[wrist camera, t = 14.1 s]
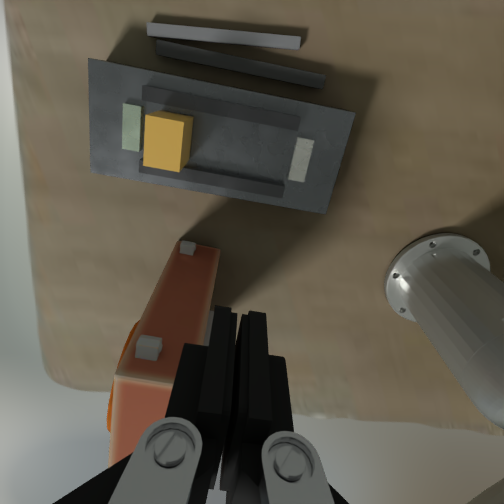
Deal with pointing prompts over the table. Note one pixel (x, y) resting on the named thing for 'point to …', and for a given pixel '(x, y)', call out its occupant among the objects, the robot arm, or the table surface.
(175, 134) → the yellow block
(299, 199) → the slider track
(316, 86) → the dark grey long bar
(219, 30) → the grey square bar
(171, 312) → the control panel
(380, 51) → the table surface
